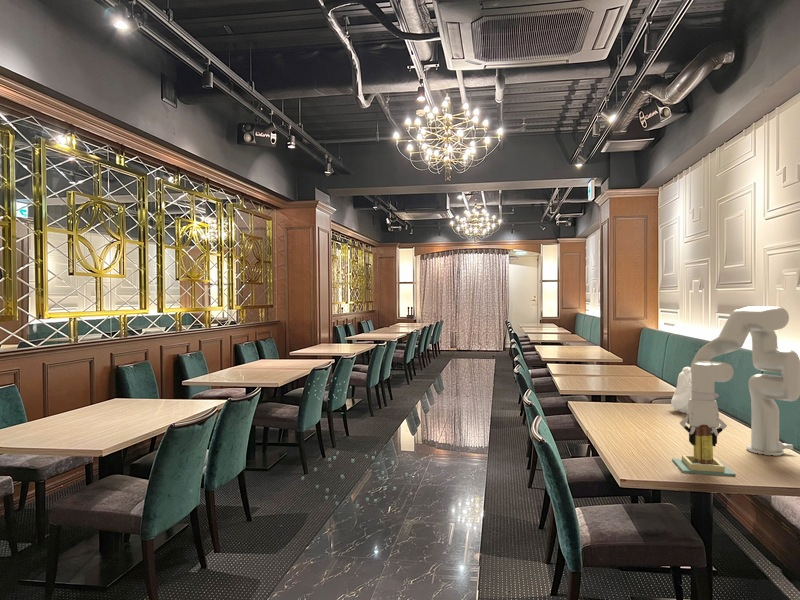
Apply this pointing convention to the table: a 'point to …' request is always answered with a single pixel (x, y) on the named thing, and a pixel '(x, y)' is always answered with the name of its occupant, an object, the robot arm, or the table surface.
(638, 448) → the table surface
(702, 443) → the sauce bottle
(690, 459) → the teal board with frame
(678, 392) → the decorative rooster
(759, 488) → the table surface
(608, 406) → the table surface
